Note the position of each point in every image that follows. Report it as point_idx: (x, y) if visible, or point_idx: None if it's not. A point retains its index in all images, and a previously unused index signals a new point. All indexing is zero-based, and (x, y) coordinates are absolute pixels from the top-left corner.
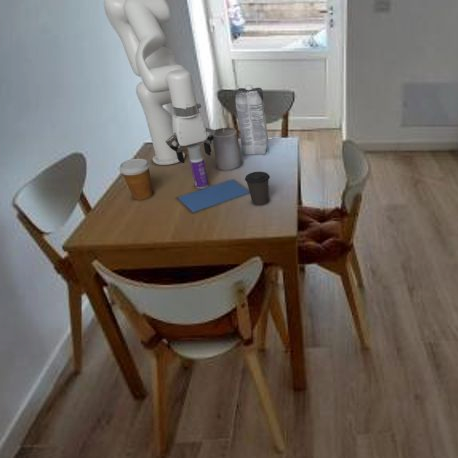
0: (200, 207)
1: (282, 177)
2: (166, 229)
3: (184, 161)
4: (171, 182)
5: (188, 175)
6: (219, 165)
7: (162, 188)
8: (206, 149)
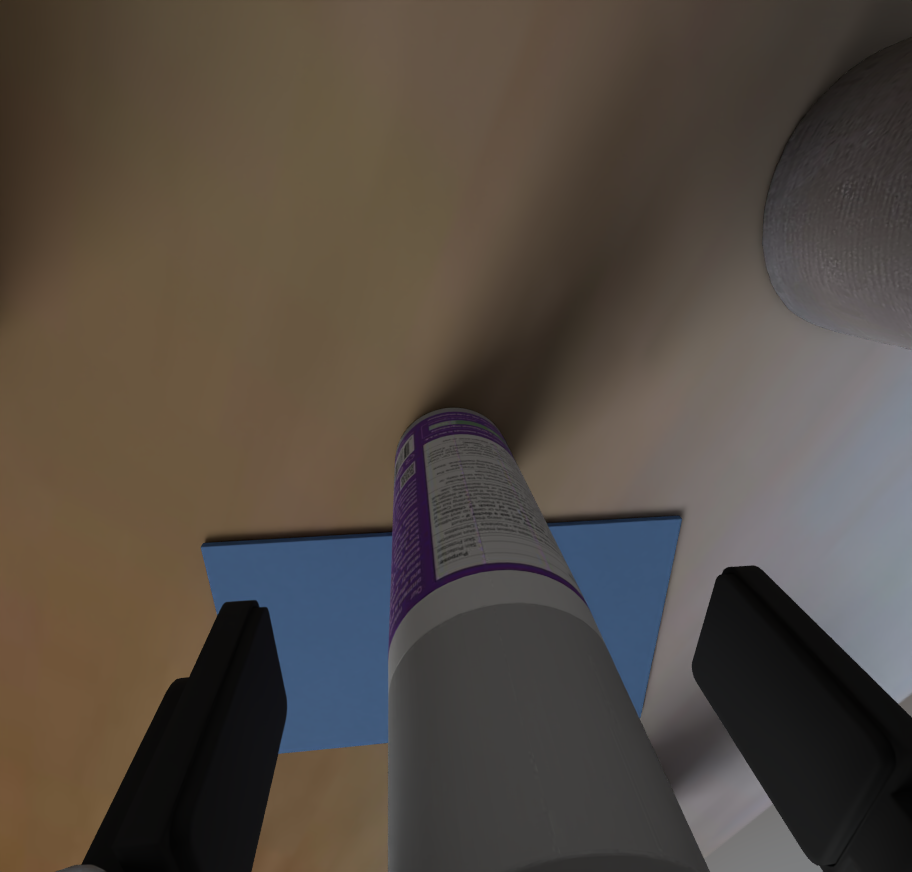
0: (310, 736)
1: (901, 653)
2: (66, 822)
3: (282, 729)
4: (217, 184)
5: (442, 133)
6: (791, 238)
7: (97, 271)
8: (763, 717)
